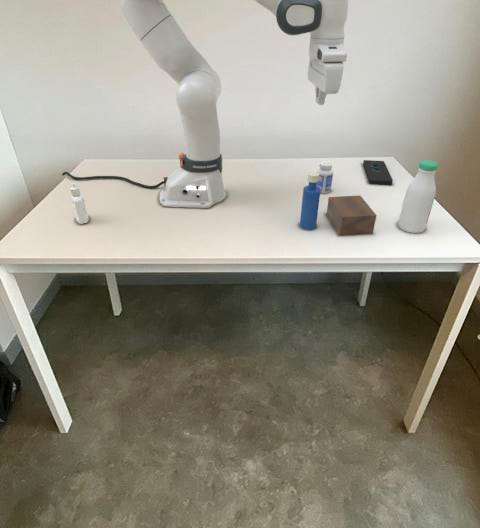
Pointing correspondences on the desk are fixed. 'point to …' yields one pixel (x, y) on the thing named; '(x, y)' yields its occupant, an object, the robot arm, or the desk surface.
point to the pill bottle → (325, 177)
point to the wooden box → (350, 215)
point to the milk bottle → (419, 198)
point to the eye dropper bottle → (78, 205)
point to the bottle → (310, 202)
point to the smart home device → (377, 172)
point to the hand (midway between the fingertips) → (319, 103)
